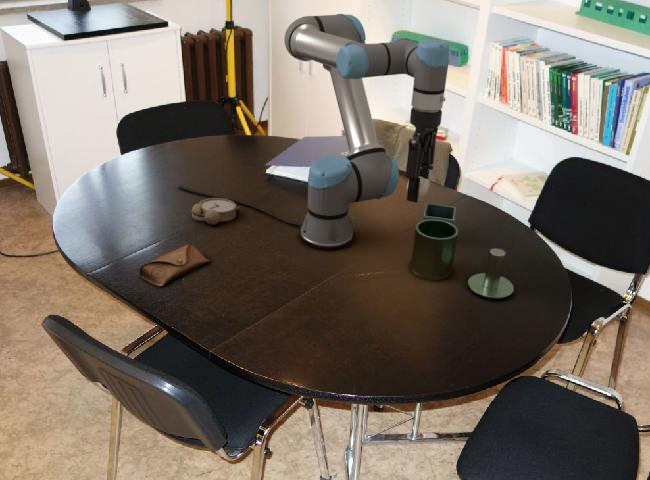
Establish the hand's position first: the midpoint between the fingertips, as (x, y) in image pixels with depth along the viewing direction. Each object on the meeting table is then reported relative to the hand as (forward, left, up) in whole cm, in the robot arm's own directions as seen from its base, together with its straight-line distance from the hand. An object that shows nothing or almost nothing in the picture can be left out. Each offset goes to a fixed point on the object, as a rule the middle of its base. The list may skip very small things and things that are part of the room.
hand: (416, 196), depth 179 cm
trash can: (+6, +2, -21) cm, 22 cm away
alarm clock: (-62, -4, -21) cm, 66 cm away
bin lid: (+23, +1, -21) cm, 31 cm away
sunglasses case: (-53, -34, -21) cm, 66 cm away
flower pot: (+1, +20, -21) cm, 29 cm away
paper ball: (0, 0, +3) cm, 3 cm away
